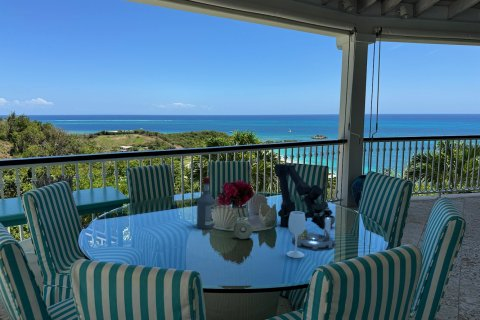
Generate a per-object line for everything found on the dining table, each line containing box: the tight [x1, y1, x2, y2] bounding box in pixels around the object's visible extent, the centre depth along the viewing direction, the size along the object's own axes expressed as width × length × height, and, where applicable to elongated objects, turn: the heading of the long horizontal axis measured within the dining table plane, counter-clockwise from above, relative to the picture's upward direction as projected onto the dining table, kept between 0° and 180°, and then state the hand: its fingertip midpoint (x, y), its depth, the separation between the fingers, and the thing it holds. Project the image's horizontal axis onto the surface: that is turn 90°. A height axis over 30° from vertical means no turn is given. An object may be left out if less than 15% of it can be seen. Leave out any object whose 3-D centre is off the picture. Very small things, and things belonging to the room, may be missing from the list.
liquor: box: [196, 176, 216, 230], centre depth 225 cm, size 9×9×30 cm
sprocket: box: [291, 217, 336, 250], centre depth 202 cm, size 23×23×14 cm
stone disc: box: [233, 219, 254, 240], centre depth 207 cm, size 10×4×10 cm, turn 86°
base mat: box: [291, 240, 336, 252], centre depth 203 cm, size 22×22×1 cm
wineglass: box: [286, 210, 307, 259], centre depth 183 cm, size 9×9×21 cm
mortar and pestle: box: [324, 206, 336, 230], centre depth 235 cm, size 11×9×12 cm
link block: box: [298, 228, 308, 238], centre depth 205 cm, size 5×4×4 cm
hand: (323, 228), depth 205 cm, fingers closed
